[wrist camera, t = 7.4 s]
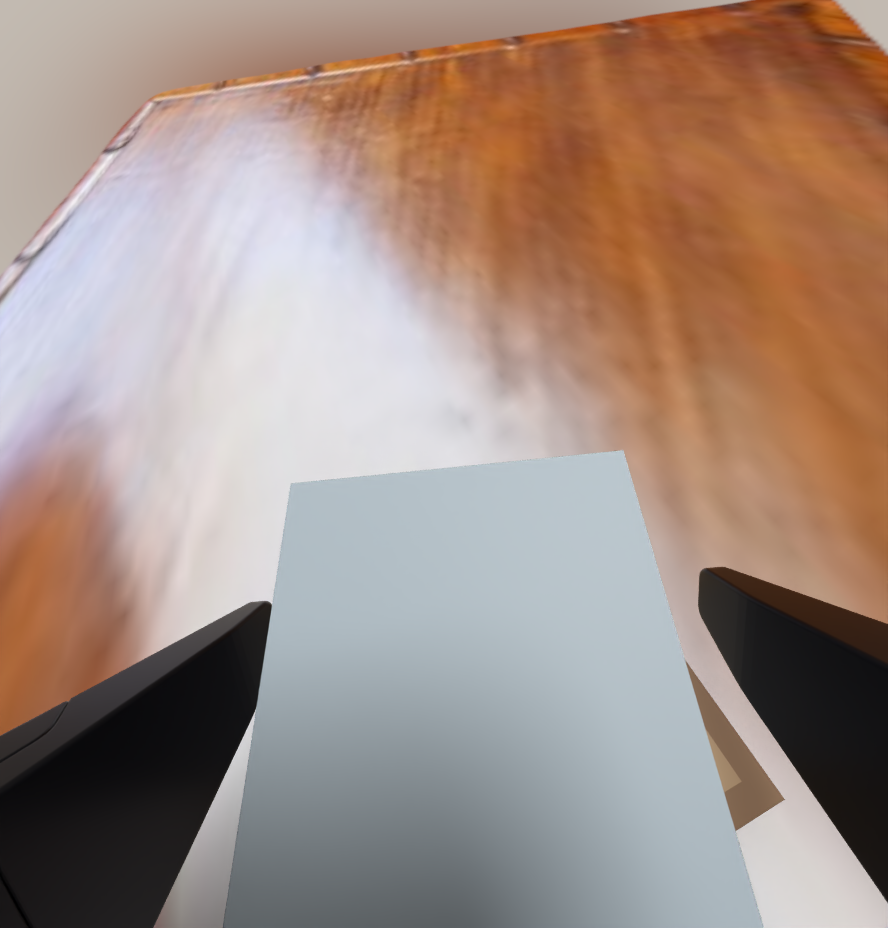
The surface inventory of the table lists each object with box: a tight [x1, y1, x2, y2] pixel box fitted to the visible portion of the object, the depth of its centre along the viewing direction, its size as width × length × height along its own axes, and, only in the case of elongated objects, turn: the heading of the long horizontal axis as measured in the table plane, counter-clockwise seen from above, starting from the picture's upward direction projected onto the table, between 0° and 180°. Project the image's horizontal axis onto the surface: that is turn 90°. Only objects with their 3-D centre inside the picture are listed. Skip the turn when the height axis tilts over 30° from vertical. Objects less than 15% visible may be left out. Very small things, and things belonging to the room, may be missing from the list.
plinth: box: [685, 661, 785, 831], centre depth 17 cm, size 14×14×4 cm
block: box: [223, 450, 764, 928], centre depth 10 cm, size 4×4×12 cm
